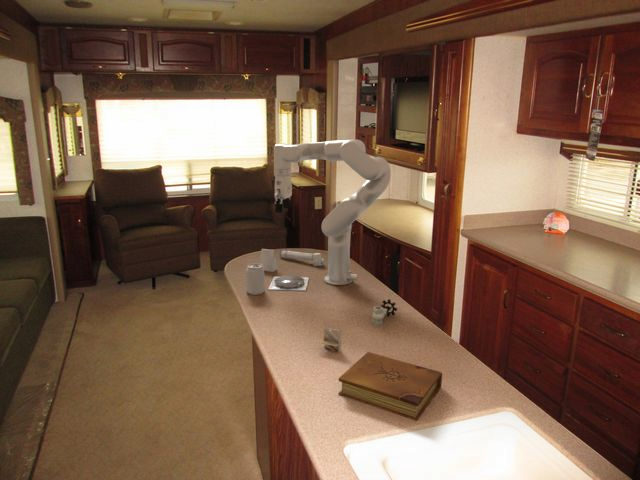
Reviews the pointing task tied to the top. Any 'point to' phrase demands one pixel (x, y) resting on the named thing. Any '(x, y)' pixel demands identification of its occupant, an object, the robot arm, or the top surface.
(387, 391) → the diary
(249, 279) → the can
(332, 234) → the robot arm
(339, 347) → the architectural model
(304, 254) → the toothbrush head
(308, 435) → the top surface
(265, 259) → the tea bag
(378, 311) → the valve
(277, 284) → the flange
